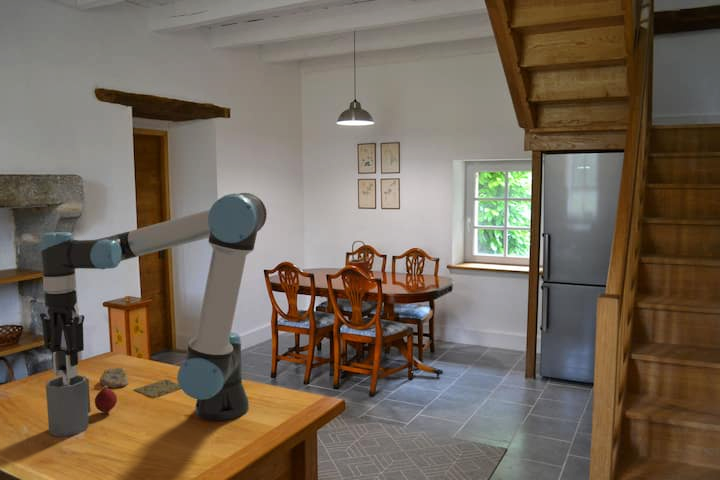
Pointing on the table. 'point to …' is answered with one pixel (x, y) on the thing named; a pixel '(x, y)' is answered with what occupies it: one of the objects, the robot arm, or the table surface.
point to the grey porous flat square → (158, 388)
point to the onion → (105, 400)
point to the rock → (114, 378)
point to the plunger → (62, 364)
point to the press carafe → (68, 406)
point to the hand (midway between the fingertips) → (65, 375)
